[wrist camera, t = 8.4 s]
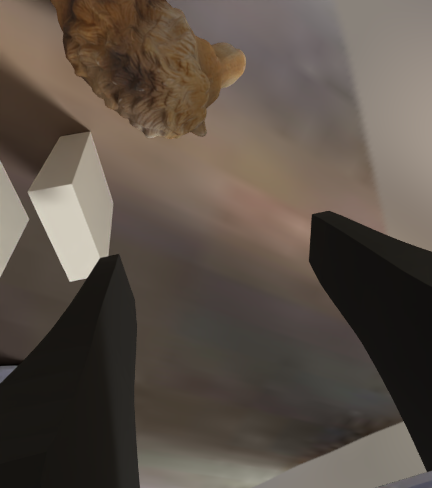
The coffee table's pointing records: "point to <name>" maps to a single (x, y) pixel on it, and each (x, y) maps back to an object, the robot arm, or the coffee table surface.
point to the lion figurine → (147, 62)
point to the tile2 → (9, 219)
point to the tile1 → (74, 204)
